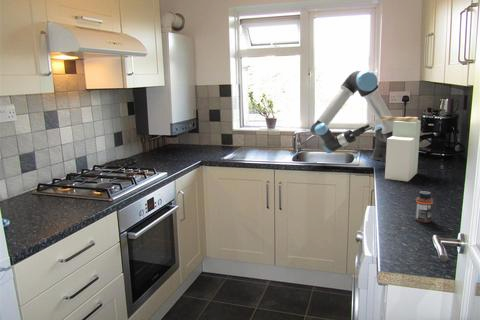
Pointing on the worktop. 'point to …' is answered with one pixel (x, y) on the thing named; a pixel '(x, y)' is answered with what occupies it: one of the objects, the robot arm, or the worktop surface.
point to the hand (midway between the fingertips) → (378, 121)
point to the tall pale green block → (402, 151)
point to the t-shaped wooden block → (400, 119)
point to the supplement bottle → (424, 207)
